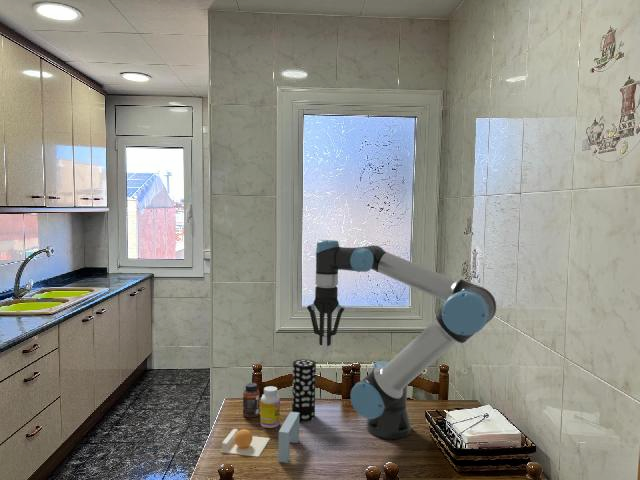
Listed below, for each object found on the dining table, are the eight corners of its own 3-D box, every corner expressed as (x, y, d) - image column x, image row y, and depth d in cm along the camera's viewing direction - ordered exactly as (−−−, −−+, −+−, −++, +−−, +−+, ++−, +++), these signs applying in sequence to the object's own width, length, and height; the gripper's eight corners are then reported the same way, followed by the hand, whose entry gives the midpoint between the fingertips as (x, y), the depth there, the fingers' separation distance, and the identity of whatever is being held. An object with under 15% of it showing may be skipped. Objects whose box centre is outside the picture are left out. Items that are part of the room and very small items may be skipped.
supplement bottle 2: (276, 429, 162) (276, 393, 161) (257, 427, 163) (258, 391, 162) (281, 421, 168) (282, 386, 168) (263, 419, 170) (264, 384, 169)
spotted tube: (319, 415, 174) (320, 362, 173) (306, 423, 167) (307, 368, 166) (300, 410, 178) (301, 357, 177) (287, 417, 171) (288, 363, 170)
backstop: (237, 436, 156) (237, 429, 156) (226, 451, 146) (226, 443, 146) (233, 436, 157) (233, 428, 156) (221, 450, 147) (221, 442, 147)
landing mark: (269, 438, 155) (269, 438, 155) (258, 457, 144) (258, 456, 144) (235, 434, 158) (235, 434, 157) (221, 452, 146) (221, 451, 146)
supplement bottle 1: (261, 416, 172) (262, 385, 172) (246, 419, 169) (247, 388, 168) (255, 410, 177) (255, 380, 177) (240, 413, 174) (240, 383, 173)
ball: (237, 441, 152) (253, 444, 152) (231, 449, 147) (248, 452, 146) (238, 425, 152) (255, 427, 151) (233, 432, 147) (250, 435, 146)
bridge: (298, 440, 155) (299, 412, 154) (287, 462, 141) (288, 432, 140) (290, 439, 155) (290, 411, 155) (278, 461, 141) (278, 431, 141)
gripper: (347, 285, 162) (345, 353, 163) (309, 283, 164) (308, 350, 165) (344, 288, 154) (342, 359, 156) (305, 286, 157) (303, 356, 158)
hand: (324, 354), depth 161 cm, fingers closed
